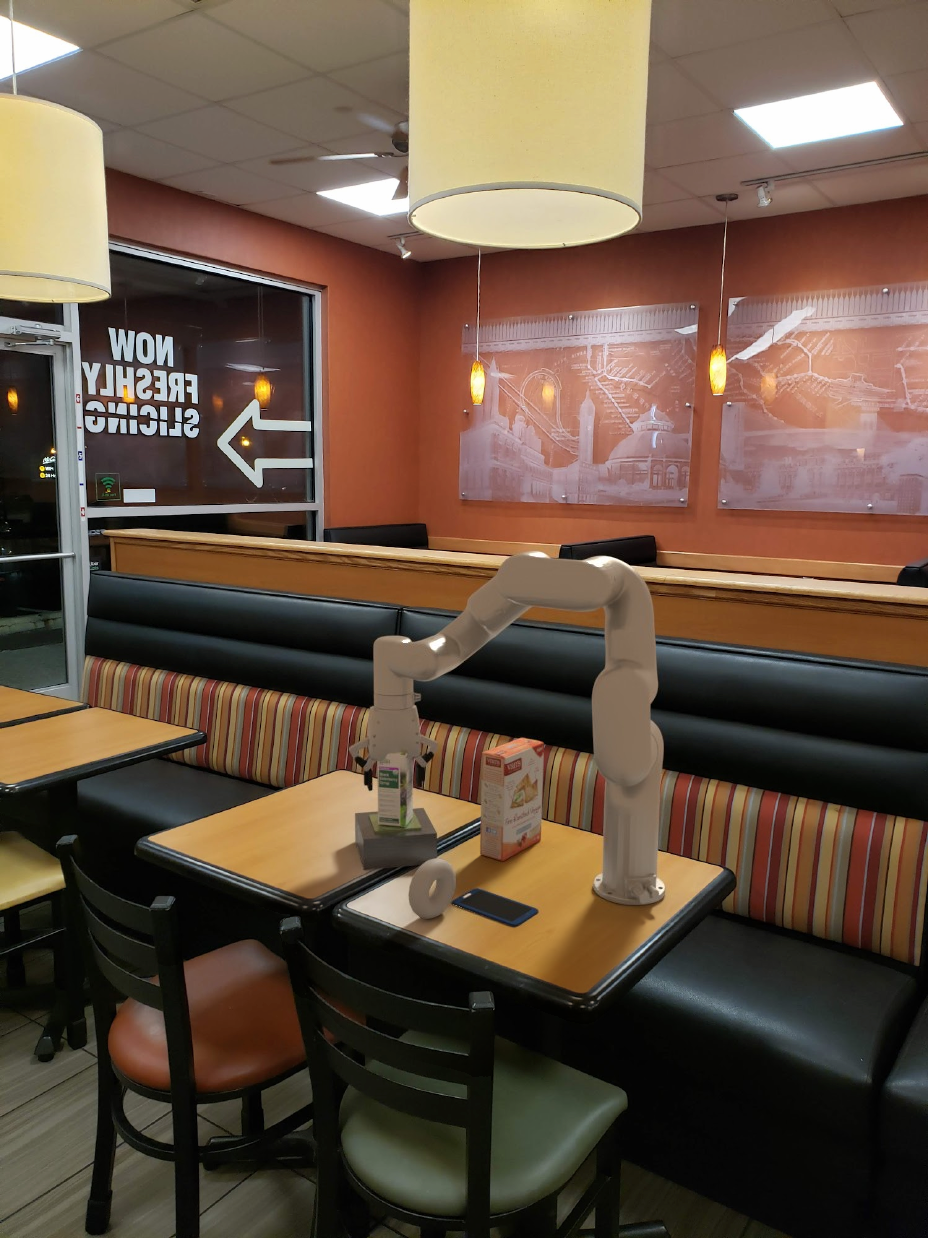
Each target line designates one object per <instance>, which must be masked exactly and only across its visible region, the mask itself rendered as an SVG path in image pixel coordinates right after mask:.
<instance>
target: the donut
mask: <svg viewBox="0 0 928 1238" xmlns="http://www.w3.org/2000/svg"><path fill="white" fill-rule="evenodd" d="M456 879H457V878H456V872H455V870H454V867H453V866H452V864H451V863H449V862H448V860H446V859H442V858H438V857H437V858H435V859H431V860H428V861H426V862H425V863H423V864H422V865H419V867H418V869H417V870H416V871H415V872H414V874H413V876H412V878H411V881H410V884H409V888H408V889H409V890H408V901H409V902H408V904H409V906H410V908H411V910H412V912H413V913H414V914H415V915H416V916H418V917H419V918H422V919H427V920H429V919H433V918H434V919H435V918H436V917H438V916H439V915H441V914H443V912H445V911H446V909H447V908H448V907H449V906H450V904H451V903H452V901H453V897H454V895H455V891H456V885H457V884H456V883H457V880H456ZM434 882H435V887H434V890H433V892H432V893H431V895H430V891H431V887H432V885H433V883H434Z"/></svg>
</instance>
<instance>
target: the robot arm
mask: <svg viewBox="0 0 928 1238" xmlns="http://www.w3.org/2000/svg"><path fill="white" fill-rule="evenodd" d="M466 603H467V604H466V607H465V609H464V610H463V611H462V612H461V613H460V615H458V616H457V617H456V618H455V619H454V620H452V621H451V622H450V623H449V624H448V625H447V626H445V627H444V628H443V629H441V630H440V631H438V632H437V633H435V635H431V636H429V637H426V638H423V639H421V640H417V641H412V640H411V639H410V637H407V636H401V635H385V636H380V637H378V638H377V639H375V641H374V642H373V705H372V706H369V712H368V717H367V727H366V729H367V730H366V737H364V738H363V739H362V740H360V741H358V742H356V743H354V744H352V745H351V746H349V748H348V751H349V753H350V755H351V756H352V758H353V760H354V762H355V763H356V764H357V765H358V766H359V767H360V768H361V769H362V770H363V785H364V787H365V786H366V787H367V789H368V792H371V791H373V790H374V789H373V785H374V783H373V778H374V777H373V770H372V767H373V766H374V764H375V763H377V761H381V760H385V758H386V756H387V754H390V753H399V752H407V754H408V759H414V760H415V761H416V764H415V784H416V785H417V787H418V788H423V782H425V781H426V780H425V779H426V767H427V764H428V763H429V762H430V761H431V760H432V759H433V758H434V756H435V754H436V752H437V751H438V748H439V742H438V741H436V740H435V739H432V738H430V737H427V736H425V735H423V734H421V729H420V728H421V726H420V718H419V713H418V708H417V705H415V703H416V702H419V701H421V700H422V694H421V693H417V692H414V680H415V681H419V682H430V681H433V680H435V679H437V678H439V677H441V676H443V675H444V674H447V673H449V672H451V671H452V670H454V669H456V668H457V667H458V666H460V665H461V664H462V663H464V661H465V662H466V660H468V659H469V658H470V657H471V656H473V655H474V654H475V653H476V652H477V651H479V650H480V649H482V647H484V646H485V645H486V644H487V643H488V642H490V641H491V640H492V639H493V638H496V637H497V636H499V634H500V633H501V632H502V631H504V630H505V629H507V627H508V626H510V625H511V624H512V623H514V621H516V620H517V619H519V617H522V615H523V614H524V613H526V612H527V611H528V610H530V609H532V607H533V608H534V607H535V608H541V609H551V610H561V611H570V612H581V613H584V612H593V611H596V610H599V609H602V608H603V611H604V617H605V619H604V621H605V622H604V643H605V644H604V645H605V663H604V665H605V666H604V669H603V670H602V671H600V673H599V674H598V676H597V677H596V678H595V681H594V685H593V688H592V694H591V710H592V711H591V713H592V714H591V715H592V738H593V739H592V740H593V742H592V743H593V756H594V763H595V765H596V769H597V770H598V772H599V774H600V775H601V776H602V777H603V778H604V780H605V784H604V804H603V805H604V806H603V832H602V833H603V834H602V835H603V836H602V838H603V839H602V843H603V844H602V870H601V871H602V872H601V873H599V874H598V875H596V877H594V879H593V881H592V887H593V890H594V892H595V893H596V894H597V895H598V896H600V897H601V898H602V899H605V900H607V901H609V902H612V903H616V904H618V905H619V904H620V905H626V906H643V905H644V906H645V905H650V904H654V903H656V902H659V901H660V900H662V899H663V898H664V896H665V895H666V885H665V883H664V881H662V879H660V878H659V877H657V876H658V853H659V852H658V851H659V828H660V827H659V825H660V806H661V805H660V802H661V782H662V773H663V763H664V762H663V761H664V751H665V750H664V739H663V738H664V737H663V735H662V731H661V730H660V728H659V726H658V725H657V724H656V723H655V722H654V721H653V720H652V719H651V704H652V703H653V701H654V699H655V698H656V696H657V693H658V688H659V681H658V670H657V669H658V666H657V646H656V644H657V643H656V633H655V612H654V604H653V599H652V595H651V592H650V589H649V587H648V585H647V583H646V581H645V580H644V578H643V577H642V575H641V574H640V573H639V572H638V571H637V570H636V569H635V568H634V567H632V566H631V565H629V564H628V563H626V562H624V561H623V560H620V559H618V558H615V557H612V556H607V555H596V556H591V557H588V558H586V559H582V560H581V559H579V560H578V559H567V558H553V557H550V556H549V555H548V554H547V553H545V552H542V551H538V550H527V551H524V552H518V553H516V554H514V555H513V554H512V555H510V556H509V557H507V558H506V559H505V560H504V561H503V562H502V563H501V564H500V566H499V568H498V570H497V573H496V575H494V576H493V577H492V578H491V579H489V581H487V582H486V583H485V584H483V585H482V586H481V587H479V589H477V590H476V591H475V592H473V593H472V594H471V595H470V596H469V598H468V599H467V602H466ZM422 744H424V745H425V746H428V750H426V752H425V753H424V754H423V755H421V753H422ZM365 748H366V751H367V752H366V753H367V756H366V757H365V758H363V757H362V756H360V754H359V751H361V750H363V749H365Z"/></svg>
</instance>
